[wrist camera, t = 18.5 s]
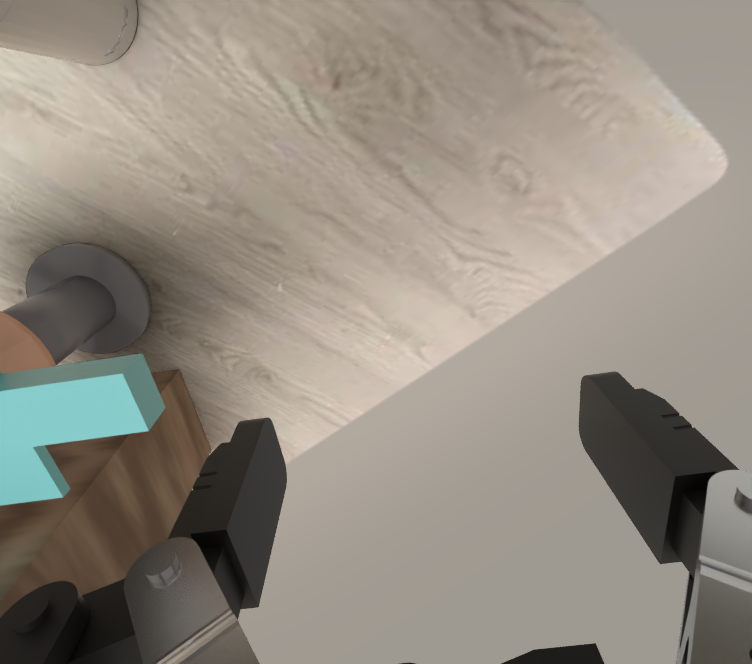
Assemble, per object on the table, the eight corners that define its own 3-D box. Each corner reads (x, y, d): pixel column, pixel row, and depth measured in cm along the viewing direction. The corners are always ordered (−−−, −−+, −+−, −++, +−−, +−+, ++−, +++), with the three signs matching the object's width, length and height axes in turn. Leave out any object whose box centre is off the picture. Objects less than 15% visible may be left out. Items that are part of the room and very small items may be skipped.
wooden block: (121, 461, 58) (-99, 762, 31) (81, 383, 53) (-225, 660, 26) (211, 450, 57) (67, 746, 30) (179, 369, 52) (-29, 638, 25)
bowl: (20, 309, 49) (-213, 434, 29) (58, 218, 45) (-182, 294, 25) (125, 365, 52) (-23, 512, 32) (170, 286, 48) (32, 399, 28)
